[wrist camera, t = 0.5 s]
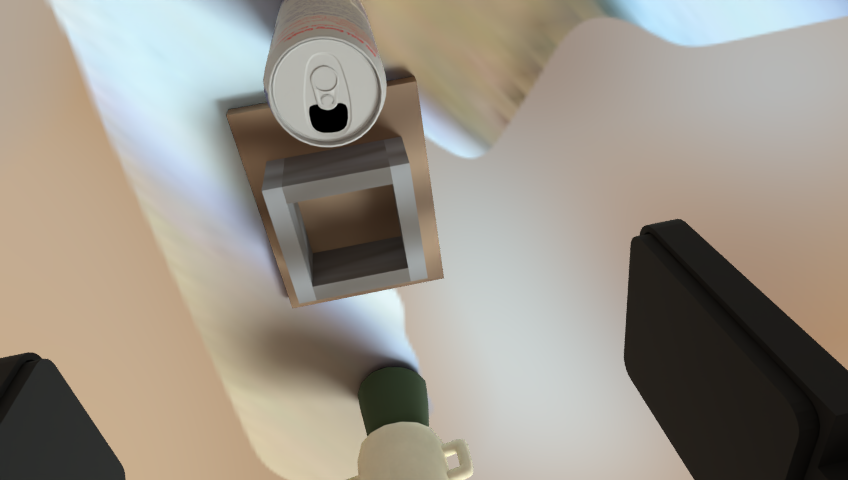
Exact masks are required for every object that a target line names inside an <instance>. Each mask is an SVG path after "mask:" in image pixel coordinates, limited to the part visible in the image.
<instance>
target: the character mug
mask: <svg viewBox="0 0 848 480" xmlns="http://www.w3.org/2000/svg"><path fill="white" fill-rule="evenodd" d="M358 399H359V404H360V409H361V413H362V417H363V421H364V425H365V429H366V433H367V436H368V437H367V438H366V439H365V440H364V441H363V442H362V444H361V449H360V453H359V457H358V476H355V477H352V478H350V479H347V480H464V479H467V478H468V477H470V476H471V475H472V474H473V464H472V460H471V456H470V452H469V448H468V444H467V443H466V441H465V440H463V439H458V440H454V441H451V442H449V443H446V444H443V442H442V441H441V439H440V438H439V437H438V436H437V435H436V433H435V432H434V431H433V430H432V429H431V428H430V427H429V415H428V398H427V389H426V383H425V380H424V379H423V378H422V377H421V376H420V375H419V374H418V373H416V372H414V371H411V370H409V369H406V368H403V367H386V368H383V369H380V370H378V371H375V372H372V373H371V374H370V375H369V376H368V377H367V378H366V379H365V380H364V381H363V382H362V383H361V386H360V389H359V392H358ZM456 453H457V455H458V459H459V463H460V466H459V467H457V468H454V469H451V470H449V468H448V463H447V459H446V457H448V456H451V455H453V454H456Z"/></svg>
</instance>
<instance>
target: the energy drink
mask: <svg viewBox="0 0 848 480" xmlns="http://www.w3.org/2000/svg"><path fill="white" fill-rule="evenodd" d="M263 80H264V93H265V96H266V100H267V103H268V105H269V107H270V109H271V111H272V113H273V115H274V116H275V118H276V120H277V121H278V122H279V124H280V125H281V126H282V127H283V128H284V129H285V130H286V131H287V132H288V133H289V134H290V135H292V136H293V137H295V138H296V139H298V140H300V141H302V142H304V143H307V144H309V145H313V146H319V147H337V146H343V145H345V144H348V143H351V142H353V141H355V140H357V139H358V138H360V137H362V136H363V135H364V134H365V133H366V132H367V131H369V130H370V128H371V127H372V126H373V124H374V123H375V122H376V120H377V118H378V116H379V114H380V112H381V110H382V108H383V105H384V101H385V98H386V87H387V83H386V76H385V71H384V68H383V65H382V62H381V59H380V55H379V52H378V49H377V46H376V43H375V39H374V36H373V33H372V30H371V27H370V24H369V20H368V17H367V14H366V11H365V9H364V6H363V5H362V3H361V1H360V0H283V1H282V3H281V6H280V9H279V12H278V16H277V20H276V24H275V29H274V33H273V37H272V41H271V45H270V50H269V54H268V58H267V62H266V67H265V73H264V79H263Z"/></svg>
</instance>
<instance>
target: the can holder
mask: <svg viewBox="0 0 848 480" xmlns="http://www.w3.org/2000/svg"><path fill="white" fill-rule="evenodd" d="M386 83H387V87H386V98H385V101H384V105H383V108H382V110H381V112H380V114H379V116H378V118H377V120H376V122H375V123H374V124H373V126H372V127H371V128H370V130H369V131H367V132H366V133H365V134H364V135H363V136H362V137H360V138H358V139H357V140H355V141H353V142H351V143H348V144H345V145H343V146H337V147H319V146H313V145H309V144H307V143H304V142H302V141H300V140H298V139H296V138H295V137H293V136H292V135H290V134H289V133H288V132H287V131H286V130H285V129H284V128H283V127H282V126H281V125H280V124H279V122H278V121H277V120H276V118H275V116H274V115H273V113H272V111H271V109H270V107H269V105H268V103H262V104H257V105H251V106H246V107H240V108H235V109H229V110H228V112H227V115H226V116H227V119H228V122H229V125H230V128H231V131H232V134H233V136H234V139H235V142H236V145H237V148H238V151H239V154H240V157H241V160H242V163H243V166H244V168H245V171H246V174H247V177H248V180H249V183H250V186H251V189H252V192H253V195H254V197H255V200H256V203H257V206H258V209H259V212H260V215H261V218H262V221H263V224H264V227H265V229H266V232H267V235H268V238H269V241H270V244H271V247H272V250H273V253H274V256H275V259H276V261H277V264H278V267H279V270H280V273H281V276H282V279H283V282H284V285H285V288H286V290H287V293H288V296H289V299H290V302H291V305H292V308H297V307H302V306H307V305H312V304H317V303H322V302H327V301H332V300H337V299H342V298H347V297H352V296H357V295H362V294H367V293H372V292H377V291H382V290H387V289H392V288H397V287H402V286H407V285H412V284H417V283H421V282H426V281H432V280H437V279H442V278H444V276H443V269H442V262H441V254H440V247H439V240H438V232H437V226H436V218H435V211H434V204H433V196H432V189H431V182H430V175H429V167H428V161H427V153H426V146H425V138H424V131H423V124H422V117H421V109H420V102H419V95H418V88H417V81H416V79H415V77H414V76H413V77H408V78H402V79H396V80H391V81H386Z"/></svg>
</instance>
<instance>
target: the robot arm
mask: <svg viewBox="0 0 848 480" xmlns="http://www.w3.org/2000/svg"><path fill="white" fill-rule="evenodd" d="M624 347H625V348H624V362H625V366H626V370H627V372H628V375H629V377H630V378H631V380H632V382H633V383H634V385H635V386H636V388H637V390H638V391H639V392H640V395H641V396H642V398H643V399H644V401H645V402H646V404H647V406H648V407H649V409H650V410H651V412H652V414H653V415H654V417H655V418H656V420H657V421H658V423H659V425H660V426H661V428H662V429H663V431H664V432H665V434H666V436H667V437H668V439H669V440H670V442H671V444H672V445H673V447H674V448H675V450H676V451H677V453H678V455H679V456H680V458H681V459H682V461H683V463H684V464H685V466H686V467H687V469H688V470H689V472H690V474H691V475H692V477H693V478H694V480H848V370H847V369H845V368H844V367H843V366H842V365H841V364H840V363H839V362H838V361H837V360H836V359H834V358H833V357H832V356H831V355H830V354H829V353H828V352H827V351H826V350H825V349H824V348H822V347H821V346H820V345H819V344H818V343H817V342H816V341H815V340H814V339H812V337H810V336H809V335H808V334H807V333H806V332H805V331H804V330H803V329H802V328H801V327H799V326H798V325H797V324H796V323H795V322H794V321H793V320H792V319H791V318H790V317H788V316H787V315H786V314H785V313H784V312H783V311H782V310H781V309H780V308H779V307H778V306H777V305H775V304H774V303H773V302H772V301H771V300H770V299H769V298H768V297H767V296H765V295H764V294H763V293H762V292H761V291H760V290H759V289H758V288H757V287H756V286H754V284H752V283H751V282H750V281H749V280H748V279H747V278H746V277H745V276H744V275H743V274H742V273H740V272H739V271H738V270H737V269H736V268H735V267H734V266H733V265H732V264H730V263H729V262H728V261H727V260H726V259H725V258H724V257H723V256H722V255H721V254H719V252H717V251H716V250H715V249H714V248H713V247H712V246H711V245H710V244H709V243H708V242H706V241H705V240H704V239H703V238H702V237H701V236H700V235H699V234H698V233H697V232H696V231H694V230H693V229H692V228H691V227H690V226H689V225H688V224H687V223H686V222H684V221H683V220H681V219H675V220H670V221H665V222H660V223H655V224H651V225H646V226H644V227H643V228H642V229H641V232H640V236H636V237H634V238H633V239H632V241H631V248H630V264H629V281H628V297H627V313H626V332H625V346H624ZM0 480H125V472H124V469H123V466H122V465H121V463H120V461H119V460H118V458H117V457H116V455H115V454H114V452H113V451H112V449H111V448H110V446H109V445H108V443H107V442H106V440H105V439H104V437H103V436H102V435H101V433H100V432H99V430H98V429H97V427H96V426H95V424H94V423H93V421H92V420H91V418H90V417H89V415H88V414H87V412H86V411H85V409H84V408H83V406H82V405H81V403H80V402H79V400H78V399H77V397H76V396H75V394H74V393H73V392H72V390H71V388H70V387H69V385H68V384H67V383H66V381H65V379H64V378H63V376H62V375H61V373H60V372H59V370H58V369H57V367H56V366H55V364H54V363H53V362H52V361H50V360H48V359H42V358H41V357H40V356H39V355H37V354H35V353H24V354H18V355H14V356H9V357H4V358H0Z"/></svg>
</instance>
